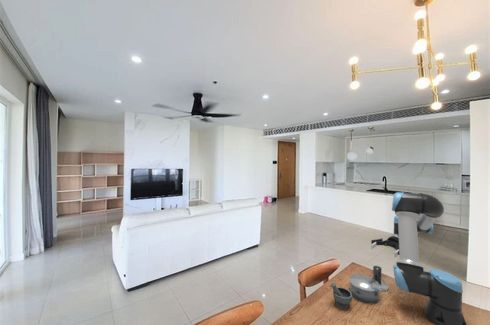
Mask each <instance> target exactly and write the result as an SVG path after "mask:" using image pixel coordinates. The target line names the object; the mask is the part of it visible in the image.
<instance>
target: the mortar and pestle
mask: <svg viewBox="0 0 490 325" xmlns="http://www.w3.org/2000/svg"><path fill="white" fill-rule="evenodd" d="M330 287H331V288H332V295H333V299H334V300H335V302H336V303H335V305H336V306H337V307H338V308H340V309H343V310H344V309H345V310H346V309H348V308H349V305H350V304H351V303H352V302H353V296H352V293H351V292H350V289H348V288H347V289H346V288H345V287H342V286H341V287H340V286H337V284H336V282H332V283H330Z"/></svg>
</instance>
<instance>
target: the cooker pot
mask: <svg viewBox="0 0 490 325" xmlns="http://www.w3.org/2000/svg"><path fill="white" fill-rule="evenodd" d="M348 279H349V291H350V292H351V293H352V298H354V299H355V300H357V301H359V302H361V303H365V304H377V303H378V302H380V291H379V289H380V284H379V283H378V282H377V281H376V280H375V279H373V277H372V278H371V276H369V275H366V274H362V273H355V274H351V275H350V276H349V278H348Z"/></svg>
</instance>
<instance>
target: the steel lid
mask: <svg viewBox="0 0 490 325" xmlns="http://www.w3.org/2000/svg"><path fill="white" fill-rule="evenodd" d="M372 269H373V270H372V271H373V272H372V277H371V276H370V277H371V278H373V279H375V280H376V281H377V282H378V283H379V284H380V289H379V292H387V291H389V286H390V285H389V284H388V283H387V282H386V281H385V280H382V267H380V266H378V265H373V267H372Z"/></svg>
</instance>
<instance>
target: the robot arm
mask: <svg viewBox="0 0 490 325" xmlns="http://www.w3.org/2000/svg"><path fill="white" fill-rule="evenodd" d="M391 205H392V206H391V211H392V212H394V215H395V216H394V217H393V218H394V219H393V234H392V235H390V236H389V237H388V238H387V239H383V238H379V239H378V238H377V239H371V241H370V242H371V245H370V249H371V250H374V248H376V247H377V246H384V247H391V248H393V249H394V250H396V251H394V254H393V255H394V258H397V257H398V256H399V259H398V260H397V261H396V262H395V264H393V267H392V269H393V276H394V280H395V284H396V286H397V288H398V289H400V290H401V291H404V292H408V293H411V294H416V295H420V296H424V297H428V298H429V300H428V301H427V303H426V305H425V307H424V315H425V316H426V318H427V319H428V320H429V321H430V322H431V323H432V324H434V325H435V324H436V325H467V321H466V319H465V316H464V314H463V311H462V310H463V293H464V291H463V284H462V281H460V279H459V278H458V277H456V275H455V276H454V275H453V274H451V273H449V272H447V271H444V270H440V269H437V268H436V269H435V268H432V269H430V270H429V271H425V270H424V266H423V265H422V264H421V262H420V253H419V252H420V251H419V240H418V239H419V238H418V237H419V236H418V233H422V234H423V233H424V234H430V235H431V234H433V233H434V231H435V230H434V228H435V227H434V223H435V221H436V220H437V218H440V217H441V216H442V215H443V214H444V212H445V208H444V204H443V203H442V201H440V200H439V199H438V198H437V197H435V196H433V195H430V194H427V193H414V192H413V193H412V192H395V193H394V194H393V198H392V204H391Z"/></svg>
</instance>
